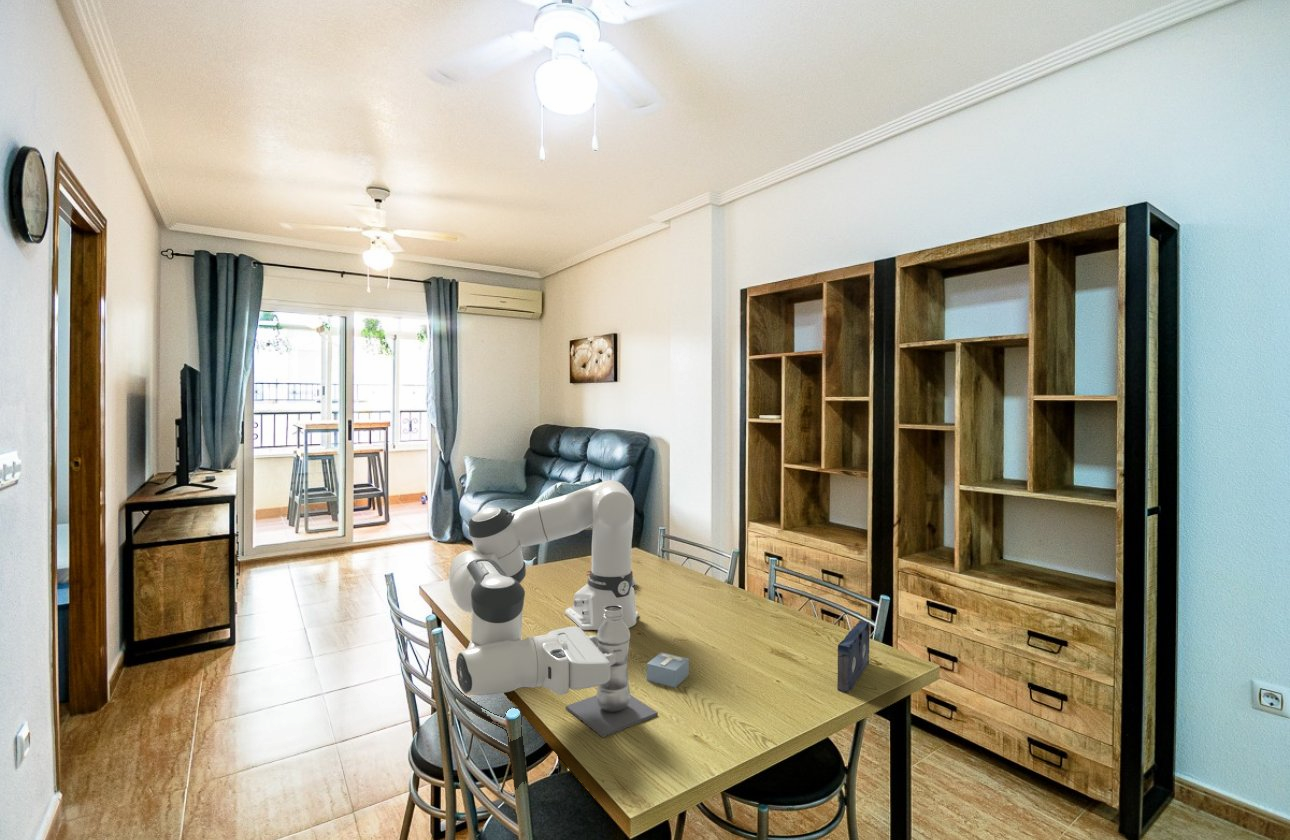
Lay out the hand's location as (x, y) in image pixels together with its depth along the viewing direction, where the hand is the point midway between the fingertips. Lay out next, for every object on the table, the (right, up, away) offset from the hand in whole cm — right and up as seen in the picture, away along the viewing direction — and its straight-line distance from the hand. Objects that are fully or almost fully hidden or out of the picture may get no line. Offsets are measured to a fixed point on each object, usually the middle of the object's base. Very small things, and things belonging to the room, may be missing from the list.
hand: (616, 647), depth 118 cm
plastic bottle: (-1, -12, 0) cm, 12 cm away
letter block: (+11, -13, +15) cm, 23 cm away
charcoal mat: (-1, -13, 0) cm, 13 cm away
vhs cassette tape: (+53, -13, +17) cm, 57 cm away
